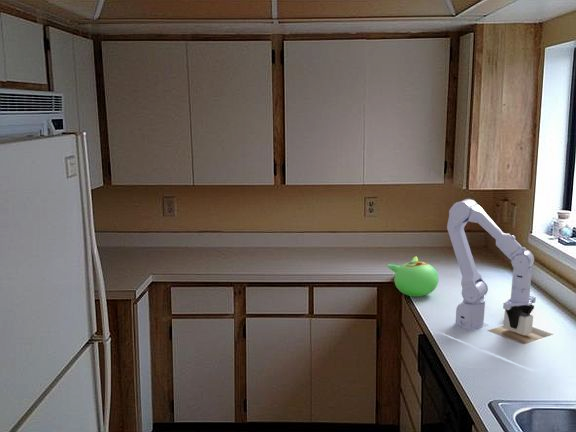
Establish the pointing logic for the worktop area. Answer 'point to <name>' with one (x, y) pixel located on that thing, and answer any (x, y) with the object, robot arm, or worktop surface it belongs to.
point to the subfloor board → (518, 337)
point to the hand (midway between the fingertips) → (517, 326)
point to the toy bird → (415, 278)
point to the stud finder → (520, 324)
